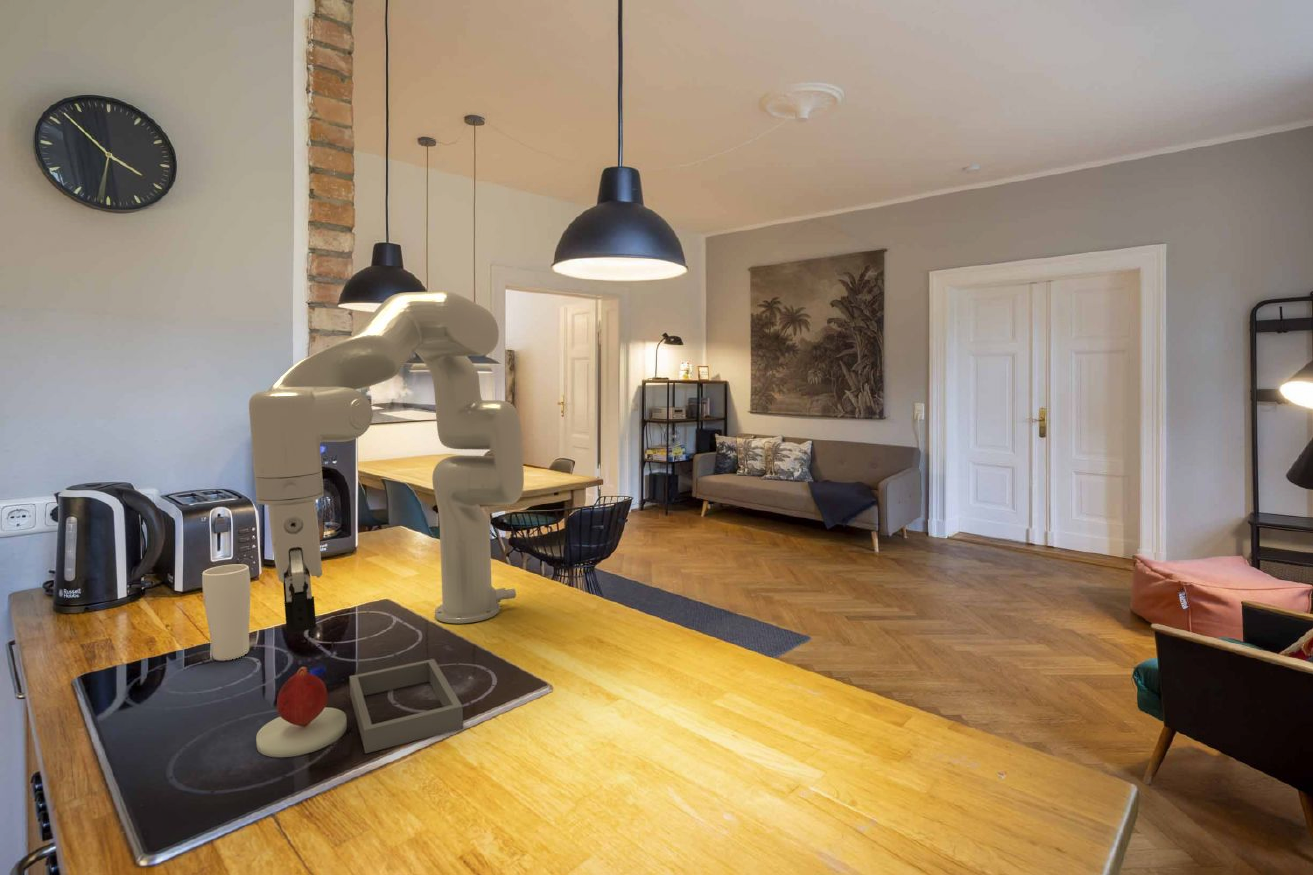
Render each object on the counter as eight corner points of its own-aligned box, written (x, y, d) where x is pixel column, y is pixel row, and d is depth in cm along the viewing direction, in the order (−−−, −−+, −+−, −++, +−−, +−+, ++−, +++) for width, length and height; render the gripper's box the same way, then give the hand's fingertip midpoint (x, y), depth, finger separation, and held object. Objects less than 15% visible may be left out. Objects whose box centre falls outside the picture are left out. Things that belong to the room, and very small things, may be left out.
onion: (278, 743, 83) (275, 682, 82) (277, 721, 88) (274, 663, 87) (330, 730, 86) (327, 671, 85) (326, 710, 91) (324, 654, 90)
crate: (434, 677, 104) (433, 658, 104) (463, 727, 89) (462, 706, 88) (350, 695, 98) (349, 676, 98) (365, 753, 83) (364, 730, 83)
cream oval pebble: (343, 708, 94) (342, 700, 94) (350, 742, 85) (350, 733, 85) (257, 728, 89) (256, 719, 89) (255, 766, 80) (255, 756, 80)
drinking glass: (231, 665, 110) (226, 575, 109) (197, 662, 111) (191, 573, 110) (263, 649, 116) (258, 564, 115) (230, 646, 118) (225, 563, 117)
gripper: (327, 495, 79) (337, 634, 81) (318, 475, 94) (327, 593, 96) (254, 502, 76) (266, 648, 77) (256, 481, 90) (266, 603, 92)
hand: (300, 617), depth 87 cm, fingers open, 9 cm apart
